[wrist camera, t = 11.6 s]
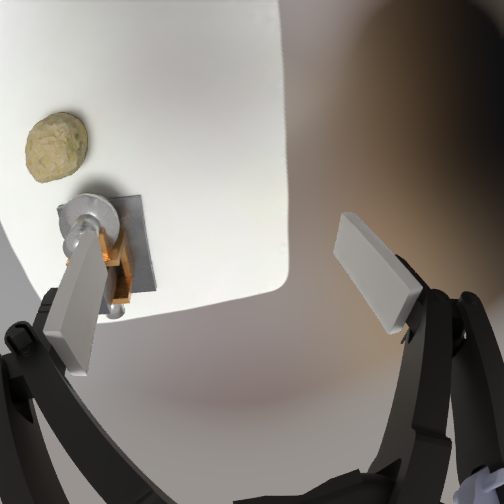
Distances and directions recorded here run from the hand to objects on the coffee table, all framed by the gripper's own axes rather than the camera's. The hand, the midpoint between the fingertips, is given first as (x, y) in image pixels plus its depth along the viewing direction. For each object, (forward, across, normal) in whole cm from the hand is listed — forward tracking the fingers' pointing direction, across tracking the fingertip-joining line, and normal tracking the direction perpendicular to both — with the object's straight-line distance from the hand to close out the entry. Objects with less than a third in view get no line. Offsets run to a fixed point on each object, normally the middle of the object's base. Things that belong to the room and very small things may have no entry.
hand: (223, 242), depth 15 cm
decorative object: (+29, -20, +1) cm, 35 cm away
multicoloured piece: (+29, -16, -16) cm, 37 cm away
